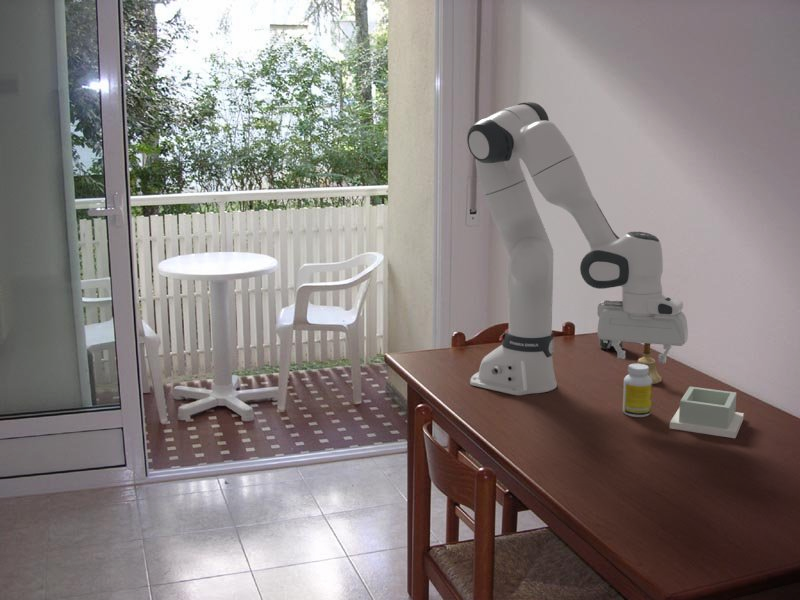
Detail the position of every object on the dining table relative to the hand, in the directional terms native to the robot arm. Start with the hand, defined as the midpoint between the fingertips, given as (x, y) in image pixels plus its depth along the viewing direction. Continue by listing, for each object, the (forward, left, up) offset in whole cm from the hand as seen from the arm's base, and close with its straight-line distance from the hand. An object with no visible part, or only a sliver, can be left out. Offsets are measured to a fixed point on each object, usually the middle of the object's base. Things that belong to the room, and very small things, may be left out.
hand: (641, 360), depth 205 cm
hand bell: (-5, +27, -13) cm, 30 cm away
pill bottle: (-1, 0, -13) cm, 13 cm away
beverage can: (-21, +52, -13) cm, 57 cm away
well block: (+15, 0, -13) cm, 20 cm away
